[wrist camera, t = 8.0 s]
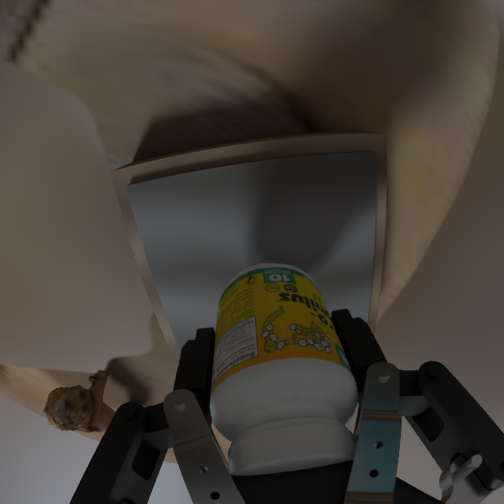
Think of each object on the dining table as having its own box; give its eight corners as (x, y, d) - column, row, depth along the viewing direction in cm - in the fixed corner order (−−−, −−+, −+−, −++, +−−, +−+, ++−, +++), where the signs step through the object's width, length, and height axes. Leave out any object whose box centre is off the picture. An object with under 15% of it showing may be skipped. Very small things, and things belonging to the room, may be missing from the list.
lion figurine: (60, 362, 27) (32, 417, 19) (79, 348, 26) (47, 411, 17) (146, 425, 32) (135, 480, 24) (172, 418, 31) (163, 478, 23)
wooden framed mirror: (131, 162, 18) (107, 172, 14) (362, 130, 17) (388, 134, 14) (184, 341, 25) (177, 373, 21) (359, 317, 24) (374, 346, 21)
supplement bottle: (199, 306, 15) (169, 480, 6) (269, 237, 13) (308, 426, 5) (270, 353, 17) (286, 504, 8) (339, 298, 15) (405, 456, 6)
